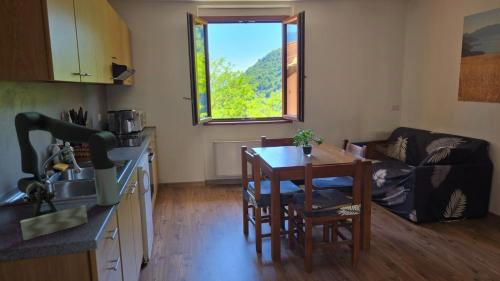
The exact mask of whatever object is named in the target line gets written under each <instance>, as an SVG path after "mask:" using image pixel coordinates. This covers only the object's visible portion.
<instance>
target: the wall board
mask: <svg viewBox="0 0 500 281" xmlns="http://www.w3.org/2000/svg"><path fill="white" fill-rule="evenodd" d="M57 211H58V212H54V213H50V214H46V215H42V216H38V217H30V218H26V219H22V220H20V221H19V222H20V228H21V235H22V239H23V241H28V240H31V239H34V238H38V237H41V235H42V236H45V234H46V235H49V234H52V233H55V232H59V231H63V230H66V229H69V228H70V229H71V228H73V227H77V226H80V225H86V224H88V222H89V220H88V213H87V212H88V211H87V207H86V205H85V204H84V205H83V204H82V205H78V206H75V207H71V208H67V209H63V210H57Z"/></svg>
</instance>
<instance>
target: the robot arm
mask: <svg viewBox="0 0 500 281" xmlns="http://www.w3.org/2000/svg"><path fill="white" fill-rule="evenodd" d="M14 127H15V128H14V129H15V133H16V139H17V142H18V146H19V150H20V164H21V167H20V168H21V172H22V173H23V174H30V175H33V176H28V177H21V178H20V179H19V180H17V190H19V192H20V193H23V194H26V196H25V195H24V196H23V197H22V198H23V199H22V200H23V203H24V204H33V205H35V202H36V201H37V200H38V199H37V187H40V188H41V191H40V192H43V190H44V189H43V188H42V187H41V186H43V187H44V188H45V189H46V190H47V195H48V197H49V198H50V200H51V201H52V200H54V198H56V197H57V194H58V193H57V190H56V189H54V190H52V191H50V190H48V189H47V188H46V187H45V186H44V181H43V180H42V177H41V174H40V169H39V156H38V153H37V151H36V149H35V147H34V146H33V144H32V143H31V140H30V132H33V131H44V132H48V133H49V134H51V136H52V137H53V138H54V139H56V140H59V141H63V142H66V143H72V144H73V143H74V144H87V148H88V152H89V154H88V155H89V157H90V162H91V164H92V166H93V175H94V176H93V177H94V184H95V192H96V201H97V205H98V206H100V207H108V206H113V205H116V204H117V203H121V193H120V184H119V181H118V180H117V170H116V162H115V159H113V158H109V157H108V152H110V151H111V152H112V150H114V149H115V148H116V147H117V146H118V139H117V137H116V135H115V134H113V133H112V132H110V131H106V130H101V129H93V128H91V127H90V128H89V127H87V126H83V125H80V124H78V123H77V124H76V123H74V122H70V121H67V120H63V119H62V120H61V119H58V118H53V117H51V116H49V115H45V114H43V113H40V112H37V111H25V112H24V111H23V112H19V113H17V114H16V115H15V117H14ZM43 201H45V203H46V204H48V202H49V201H48V199H46V198H45V197H43V198H42V200H41V206H42V205H44V203H43Z"/></svg>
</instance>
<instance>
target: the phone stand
mask: <svg viewBox="0 0 500 281" xmlns="http://www.w3.org/2000/svg"><path fill="white" fill-rule="evenodd" d="M43 186H44V185H43ZM43 186H41V187H42V188H43V189H44V190H43V192H40V191H41V188H40V187H37V199H38V200H37V201H36V202H35V203H34V204H33V209H32V218H34V217H38V216H42V215H46V214H50V213H54V212H58V211H59V210H58V209H57V207H55V205H54V203H53V202H52V200H50V198H49V197H48V195H47V190H48V189H47V188H46V187H45V186H44V187H45V188H46V189H47V190H46V189H45V188H44V187H43ZM43 197H45V198H46V199H48V201H49V202H48V203H47V205H48V207H49V208H50V209H48V210H43V211H41V208H42V205H41V200H42V198H43Z"/></svg>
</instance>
